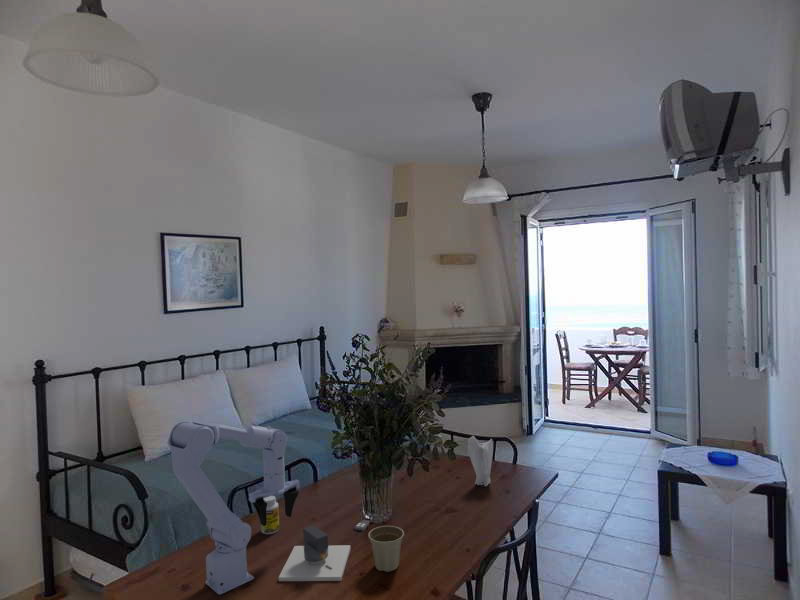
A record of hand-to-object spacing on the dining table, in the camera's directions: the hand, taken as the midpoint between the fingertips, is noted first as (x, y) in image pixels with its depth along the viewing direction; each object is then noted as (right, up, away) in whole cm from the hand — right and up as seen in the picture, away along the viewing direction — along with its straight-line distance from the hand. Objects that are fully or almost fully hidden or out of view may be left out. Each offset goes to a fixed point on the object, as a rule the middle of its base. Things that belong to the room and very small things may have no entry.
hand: (276, 520), depth 143 cm
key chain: (+24, -9, +19) cm, 32 cm away
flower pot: (+31, -9, -8) cm, 33 cm away
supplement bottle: (-5, -10, +15) cm, 19 cm away
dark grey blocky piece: (+12, -7, -6) cm, 15 cm away
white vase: (+65, -7, +46) cm, 80 cm away
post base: (+12, -10, -5) cm, 16 cm away
